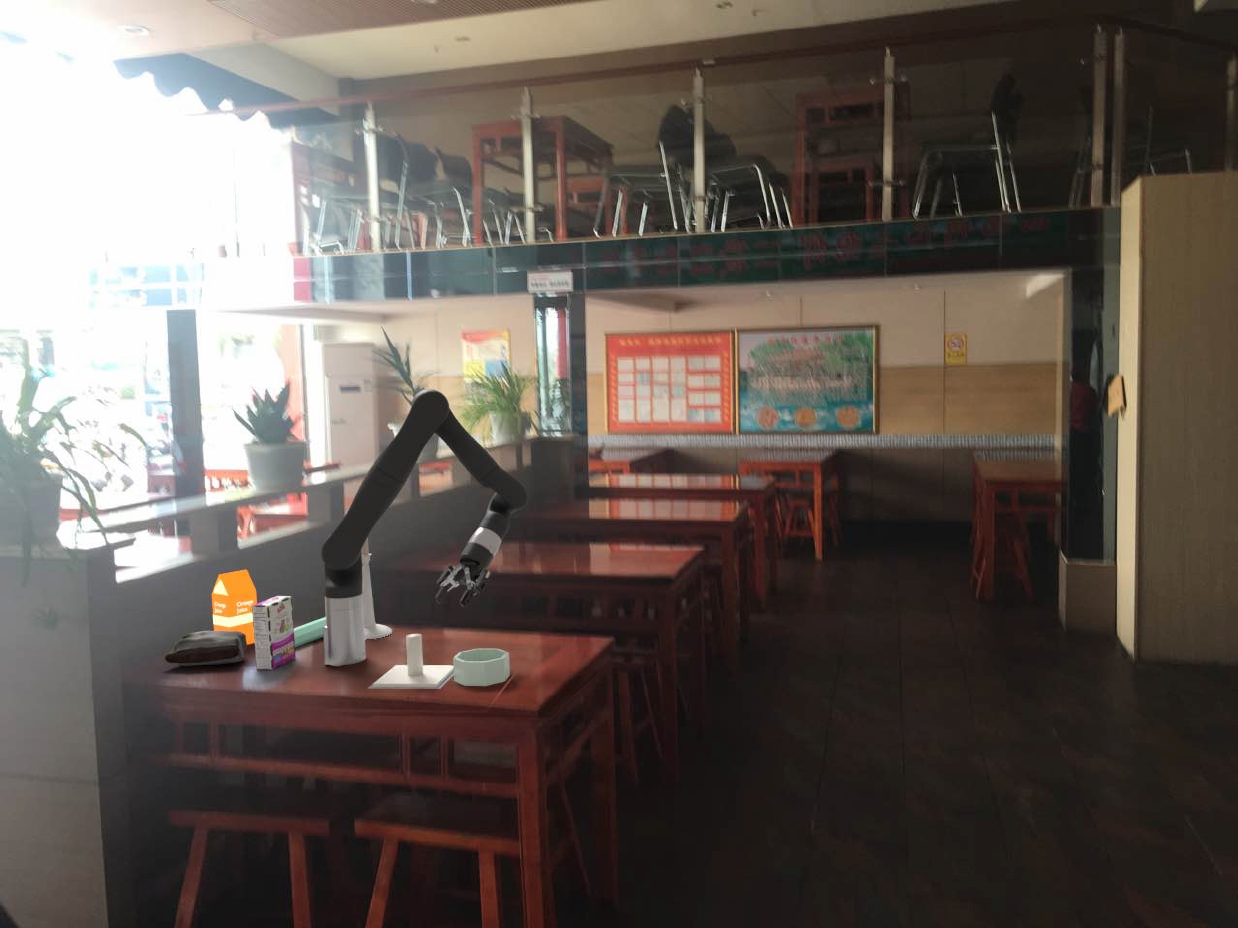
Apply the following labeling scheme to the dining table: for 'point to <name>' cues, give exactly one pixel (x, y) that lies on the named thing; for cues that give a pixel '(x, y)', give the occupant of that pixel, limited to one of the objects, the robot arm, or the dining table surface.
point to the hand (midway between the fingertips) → (449, 603)
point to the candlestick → (370, 601)
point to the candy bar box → (273, 632)
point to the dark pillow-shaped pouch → (208, 648)
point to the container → (309, 632)
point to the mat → (415, 687)
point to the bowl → (481, 667)
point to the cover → (414, 669)
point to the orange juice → (234, 603)
